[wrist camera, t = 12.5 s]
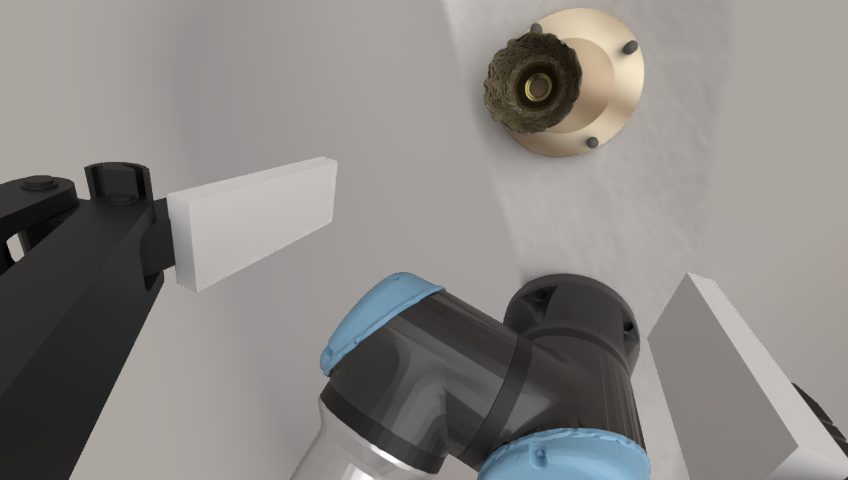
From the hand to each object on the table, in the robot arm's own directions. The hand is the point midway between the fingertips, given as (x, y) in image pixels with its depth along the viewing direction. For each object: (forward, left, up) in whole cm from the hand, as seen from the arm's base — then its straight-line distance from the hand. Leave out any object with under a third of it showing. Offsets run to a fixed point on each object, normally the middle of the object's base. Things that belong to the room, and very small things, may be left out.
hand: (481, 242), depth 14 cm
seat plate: (+6, 0, -29) cm, 29 cm away
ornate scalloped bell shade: (+6, +2, -27) cm, 28 cm away
